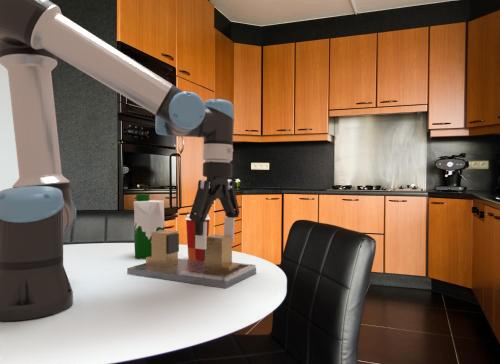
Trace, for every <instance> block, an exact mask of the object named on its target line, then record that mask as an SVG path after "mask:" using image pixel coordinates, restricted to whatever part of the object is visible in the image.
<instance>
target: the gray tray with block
mask: <svg viewBox="0 0 500 364" xmlns="http://www.w3.org/2000/svg"><path fill="white" fill-rule="evenodd" d="M178 252H180V234H179V232H178V231H177V230H165V229H164V230H162V231H156V232H152V256H149V257H146V259H145V263H141V264H137V265H133V266H130V267H127V268H126V270H127V273H126V274H127V275H133V276H134V275H135V276H140V277H145V278H146V277H147V278H153V279H159V280H166V281H167V280H168V281H174V282H181V283H186V284H187V283H188V284H194V285H202V286H208V287H214V288H215V287H216V288H221V289H227V288H229V287H231V286H233V285H235V284H238V283H240V282H242V281H243V280H246V279H248V278H250V277H252V276H254V275H255V274H257V266H256V264H252V263H251V264H250V263H243V262H238V263H239V270H238V271H235V272H233V273H231V274H229V275H221V274H214V273H206V272H205V261H194V260H189V259H184V258H179V255H178V254H179V253H178ZM232 263H235V262H234V261H232Z"/></svg>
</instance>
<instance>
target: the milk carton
mask: <svg viewBox="0 0 500 364" xmlns="http://www.w3.org/2000/svg"><path fill="white" fill-rule="evenodd" d="M135 198H136V200H134V201H133V211H134V214H133V215H134V216H133V217H134V219H133V221H134V222H133V223H134V225H133V226H134V228H133V229H134V230H133V231H134V235H133V236H134V240H133V241H134V259H138V260H139V259H142V260H143V259H145V260H146V257H149V256H152V232H156V231H162V230H165V200H163V199H162V200H157V199H150V194H149V193H145V194H143V193H140V194H138V193H137V194H136V197H135Z"/></svg>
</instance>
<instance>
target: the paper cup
mask: <svg viewBox="0 0 500 364" xmlns="http://www.w3.org/2000/svg"><path fill="white" fill-rule="evenodd" d="M189 216H190V213H188V214H187V215H186V216H185V218H184V220H185V221H186V222H185V224H186V238H187V239H186V243H187V256H188V257H187V258H188V260H194V261H203V262H205V258H204V249H196V248H195V221H191V219H190V218H189ZM210 220H211V217H210V214H208V215H207V217H206V219H205V221H204V222H207V236H209V234H210V232H209V231H210Z"/></svg>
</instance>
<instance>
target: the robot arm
mask: <svg viewBox="0 0 500 364" xmlns="http://www.w3.org/2000/svg"><path fill="white" fill-rule="evenodd" d="M58 58H59V59H61V60H63V61H64V62H65V63H68V64H69V65H70V66H72V67H74V68H76V69H77V70H78V71H81V72H82V73H84V74H86V75H87V76H89V77H91V78H93V79H95V80H96V81H98V83H101V84H102V85H104V86H106V87H108V88H110V89H111V90H113V91H114V92H117V93H118V94H120V95H121V96H123V97H124V98H126V99H128V100H130V101H131V102H133V103H135V104H136V105H138V106H140V107H142V108H143V109H145V110H146V111H148V112H150V113H152V114H153V115H154V116H155V120H154V121H155V122H154V123H155V129H154V130H155V133H156V134H157V135H159V136H168V137H187V138H203V146H202V147H203V149H202V159H203V161H204V162H203V163H202V176H203V177H204V178H205V177H206V179H205V180H203V179H201V180H200V179H199V180H198V183H197V190H196V194H195V197H194V200H193V204H192V207H191V210H190V213H189V214H190V216H189V218H190V219H191V221H195V248H196V249H204V250H205V249H206V242H207V222H204V221H205V219H206V217H207V215H209V212H210V210H211V208H212V206H213V204H214V202H215V201H216V200H217V199H218V200H219V201H220V202H219V203H220V205H221V206H222V209H223V210H224V213H225V217H224V223H223V226H224V230H223V235H232V243H234V242H235V221H236V220H235V218H239V215H240V208H239V203H238V198H237V193H236V190H235V181H234V180H228V179H229V178H232V177H233V164H232V163H231V162H232V161H233V152H234V146H233V145H234V140H233V139H234V122H235V118H234V116H235V113H234V104H233V103H232V102H231V101H229V100H226V99H219V98H217V99H216V98H215V99H207V100H205V102H204V100H203V98H201V96H199V94H197V93H196V92H193V91H184V90H182V89H181V88H179V87H177V86H176V85H174V84H172V82H170V81H167V79H164V77H161V76H160V75H158V74H156V73H155V72H153V71H152V70H150V69H149V68H147V67H145V66H143V65H142V64H141V63H139V62H137V61H136V60H135V59H134V58H131V57H130V56H129V55H126V54H124V53H123V52H121V51H120V50H118V49H116V47H113V46H112V45H111V44H110V43H107V42H106V41H105V40H104V39H101V38H100V37H97V36H96V35H94V34H93V33H91V32H90V31H89V30H87V29H85V28H83V27H82V26H81V25H79V24H77V23H76V22H74V21H72V20H71V19H70V18H68V17H66V16H64V15H63V13H62V11H61V8H60V7H59V5H57V4H56V3H54V2H52V1H51V0H0V65H1V66H3V67H4V68H5V69H6V70H7V75H8V76H7V77H8V84H9V85H8V86H9V94H10V103H11V105H10V106H11V112H12V113H11V114H12V122H13V133H14V141H15V150H16V159H17V169H18V179H17V180H16V181H15V183H14V184H13V185H12V187H10V188H5V189H2V190H0V321H2V322H6V321H7V322H12V321H14V322H15V321H25V320H33V319H39V318H42V317H47V316H51V315H55V314H56V313H60V312H62V311H65V310H67V309H68V308H70V307H71V306H72V305H73V303H74V291H73V288H72V286H71V283H70V280H69V278H68V275H67V272H66V268H65V266H64V237H65V236H67V235H68V233H69V232H70V231H71V230H72V229H73V226H74V225H75V222H76V219H77V208H76V205H75V203H74V201H73V200H72V199H73V198H72V192H71V189H72V188H71V182H70V180H69V179H68V178H66V177H65V176H64V175H63V174H62V163H61V154H60V147H59V146H60V144H59V135H58V125H57V114H56V106H55V97H54V89H53V79H52V71H53V70H54V69H55V68H56V67H57V65H58Z"/></svg>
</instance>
